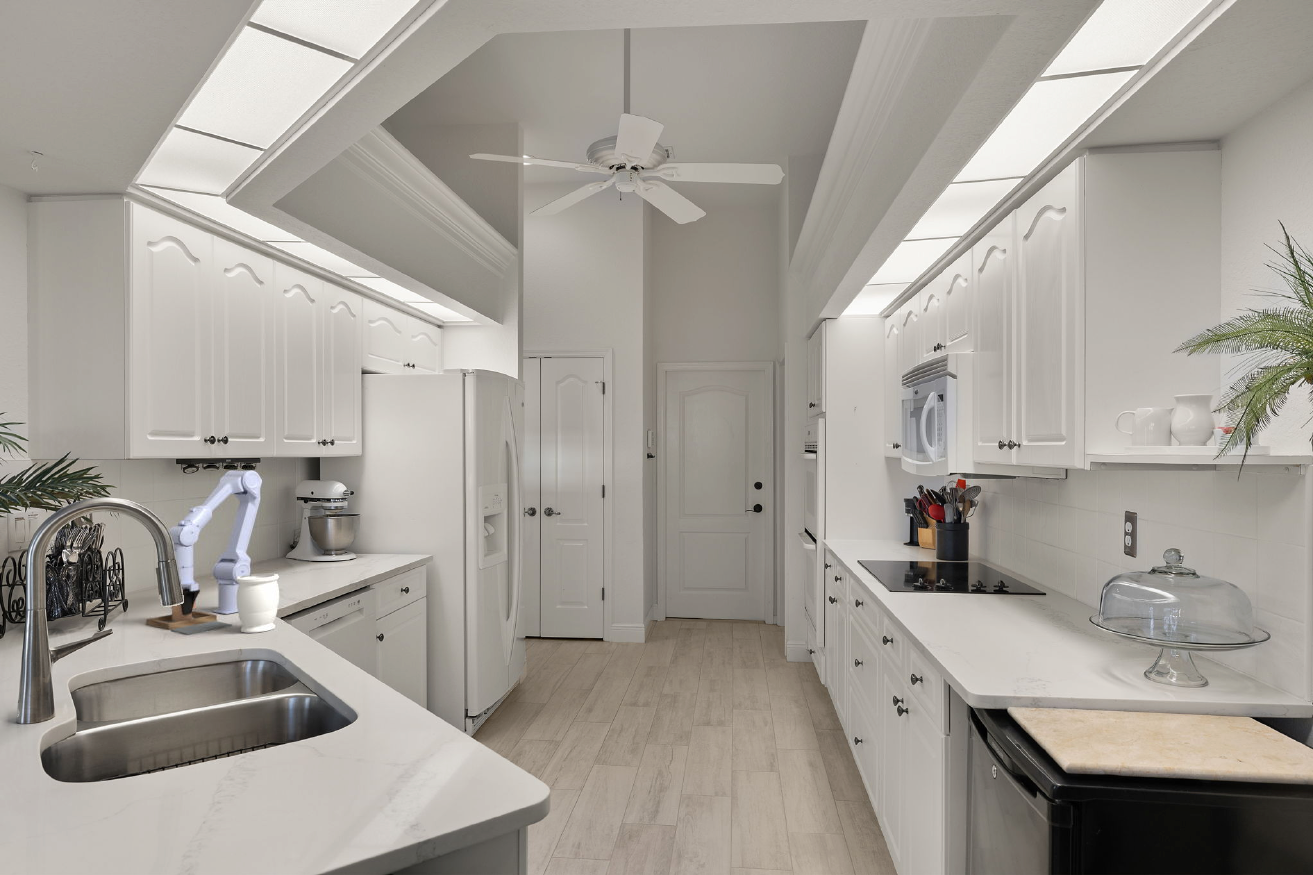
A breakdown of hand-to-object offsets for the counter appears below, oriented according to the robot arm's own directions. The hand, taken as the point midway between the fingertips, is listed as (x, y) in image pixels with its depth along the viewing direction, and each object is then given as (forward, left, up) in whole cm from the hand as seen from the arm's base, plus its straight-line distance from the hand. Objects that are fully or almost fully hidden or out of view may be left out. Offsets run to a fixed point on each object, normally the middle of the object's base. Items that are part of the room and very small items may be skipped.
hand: (182, 613), depth 217 cm
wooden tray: (0, 0, -3) cm, 3 cm away
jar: (-6, +29, -3) cm, 30 cm away
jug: (0, 0, -2) cm, 2 cm away
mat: (+1, +13, -3) cm, 13 cm away
